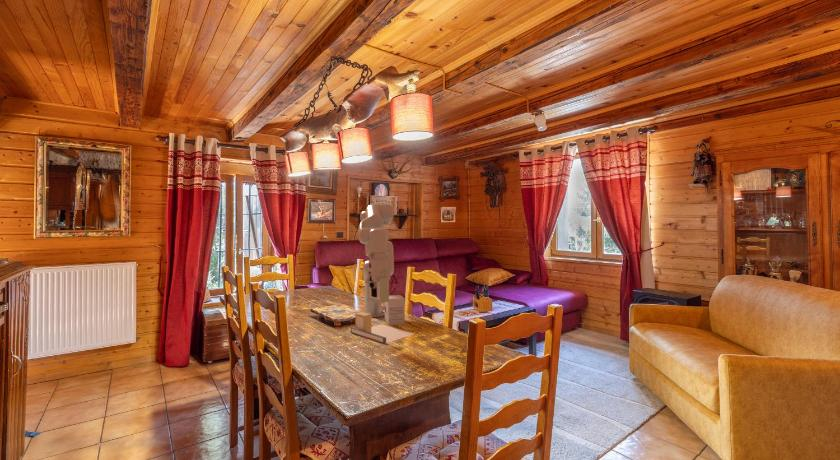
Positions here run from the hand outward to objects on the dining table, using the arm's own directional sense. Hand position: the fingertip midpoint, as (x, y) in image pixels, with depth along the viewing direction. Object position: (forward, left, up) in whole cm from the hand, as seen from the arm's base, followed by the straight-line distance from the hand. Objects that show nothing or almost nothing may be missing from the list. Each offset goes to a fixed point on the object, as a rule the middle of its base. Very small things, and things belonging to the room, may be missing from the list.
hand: (378, 295), depth 180 cm
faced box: (0, -11, -19) cm, 22 cm away
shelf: (-6, -4, -21) cm, 22 cm away
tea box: (0, 0, -2) cm, 2 cm away
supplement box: (-22, -13, -21) cm, 33 cm away
